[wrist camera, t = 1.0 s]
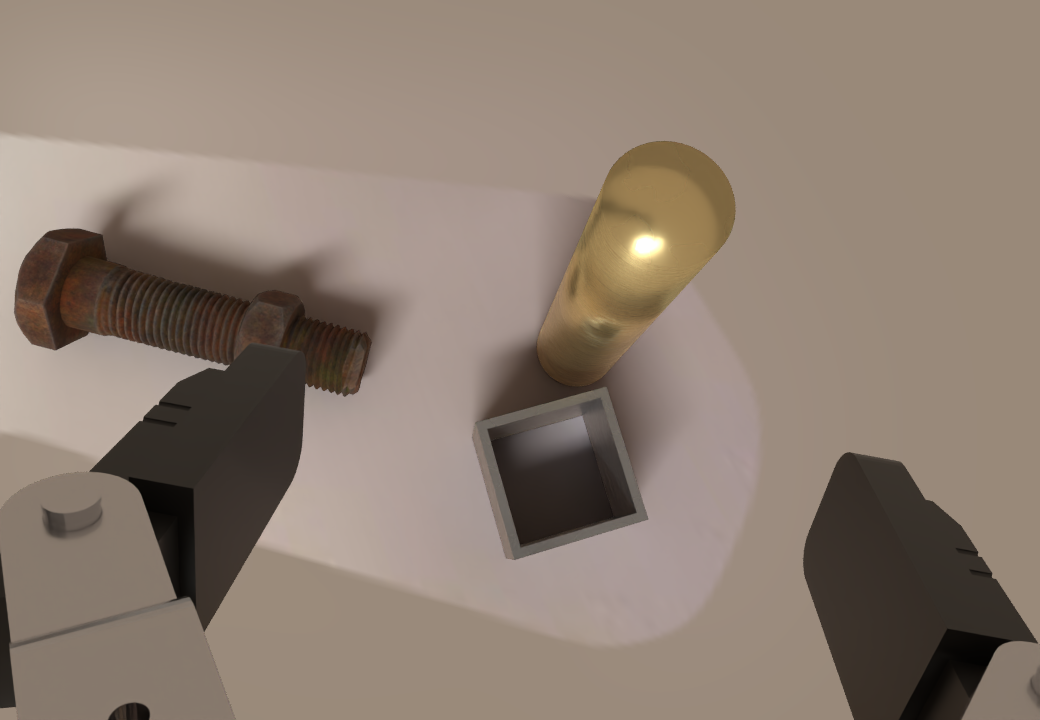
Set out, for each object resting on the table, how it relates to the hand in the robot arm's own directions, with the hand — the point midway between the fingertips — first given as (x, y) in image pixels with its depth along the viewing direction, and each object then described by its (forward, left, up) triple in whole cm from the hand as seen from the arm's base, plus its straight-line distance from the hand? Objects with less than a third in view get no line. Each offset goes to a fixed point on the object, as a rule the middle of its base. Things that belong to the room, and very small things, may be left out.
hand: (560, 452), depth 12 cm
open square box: (+3, +1, -28) cm, 28 cm away
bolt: (-10, +12, -28) cm, 32 cm away
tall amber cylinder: (+7, +7, -28) cm, 29 cm away
